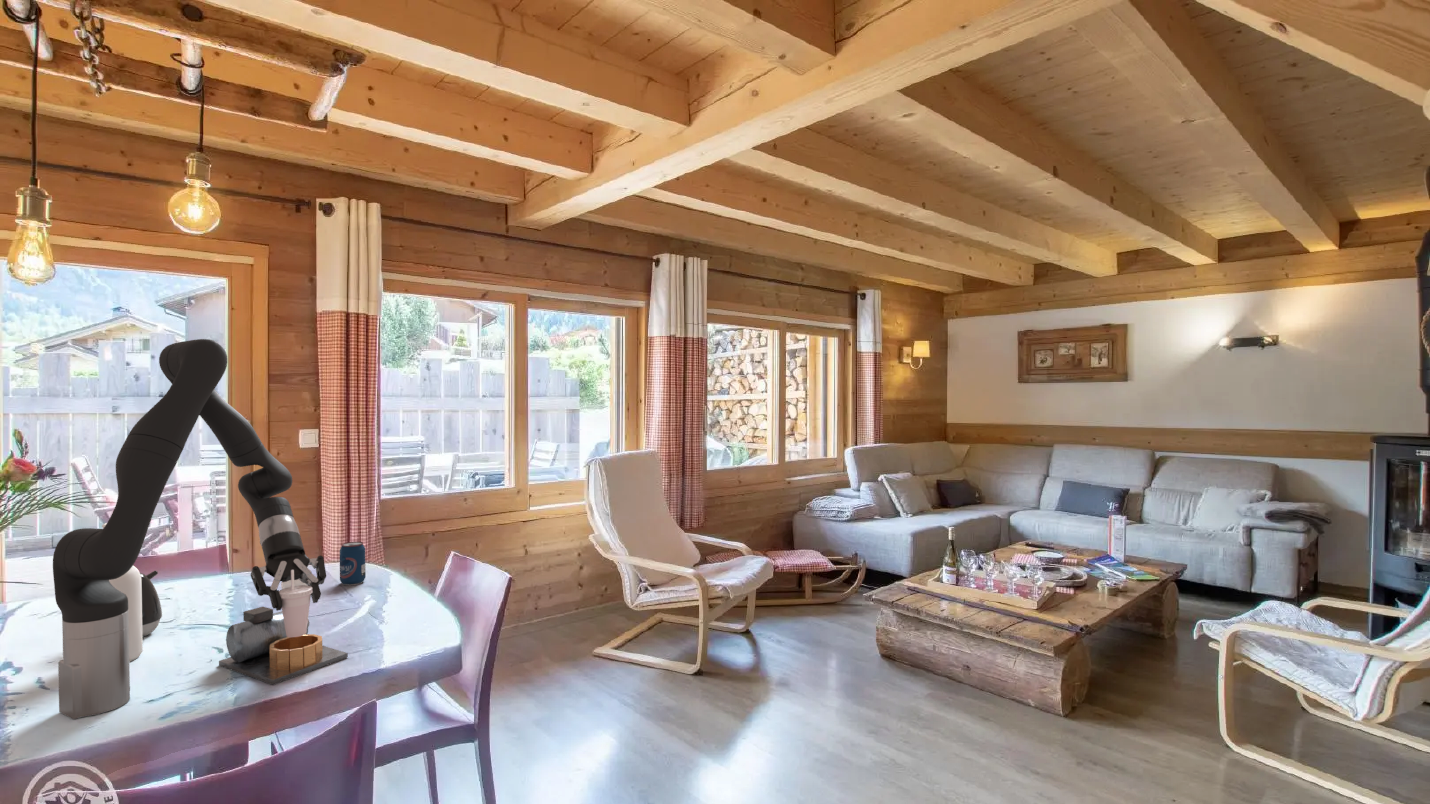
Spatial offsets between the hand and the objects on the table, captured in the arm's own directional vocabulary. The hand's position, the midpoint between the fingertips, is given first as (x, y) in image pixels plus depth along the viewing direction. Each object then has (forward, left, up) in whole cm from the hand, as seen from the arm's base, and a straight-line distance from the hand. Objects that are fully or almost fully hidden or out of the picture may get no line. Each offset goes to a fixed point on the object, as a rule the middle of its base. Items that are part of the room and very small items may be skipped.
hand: (298, 604), depth 148 cm
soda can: (+45, +49, -14) cm, 68 cm away
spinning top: (+22, +38, -14) cm, 46 cm away
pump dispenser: (-8, +53, -14) cm, 55 cm away
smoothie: (+1, +2, -7) cm, 7 cm away
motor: (0, +6, -14) cm, 15 cm away
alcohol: (-17, +39, -14) cm, 44 cm away
